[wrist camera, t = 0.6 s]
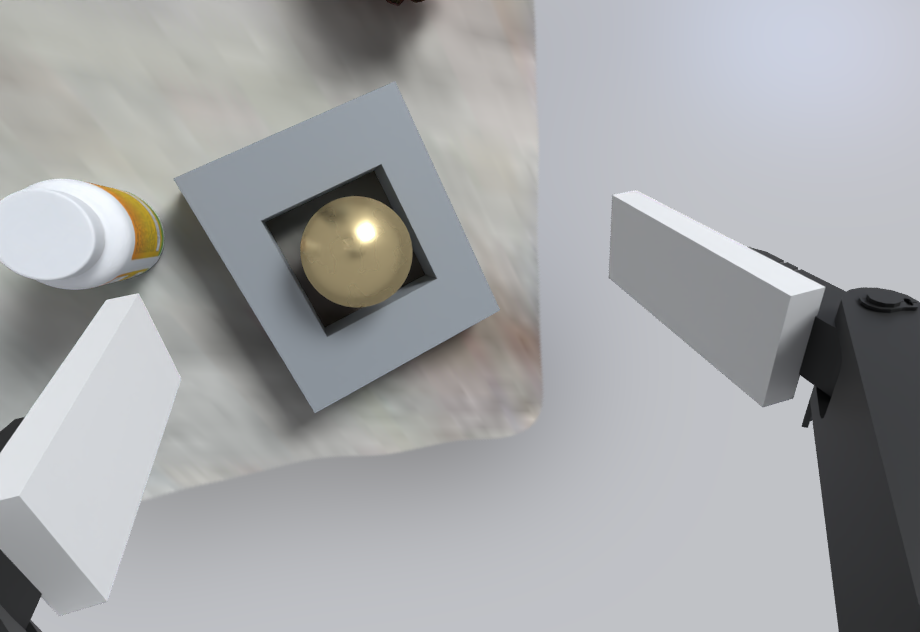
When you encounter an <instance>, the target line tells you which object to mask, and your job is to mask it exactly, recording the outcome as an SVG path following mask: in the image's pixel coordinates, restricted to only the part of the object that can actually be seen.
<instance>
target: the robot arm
mask: <svg viewBox="0 0 920 632" xmlns="http://www.w3.org/2000/svg"><path fill="white" fill-rule="evenodd" d="M610 237H611V238H610V261H609V279H611V280H612V281H613V282H614V283H615V284H617V285H618V286H619V287H620V288H621V289H623V290H624V291H625V292H626V293H627V294H629V295H630V296H631V297H632V298H633V299H635V300H636V301H637V302H638V303H639V304H640V305H642V306H643V307H644V308H645V309H646V310H648V311H649V312H650V313H651V314H652V315H653V316H655V317H656V318H657V319H658V320H659V321H661V322H662V323H663V324H664V325H665V326H667V327H668V328H669V329H670V330H671V331H672V332H674V333H675V334H676V335H677V336H678V337H680V338H681V339H682V340H683V341H684V342H686V343H687V344H688V345H689V346H690V347H692V348H693V349H694V350H695V351H696V352H697V353H699V354H700V355H701V356H702V357H703V358H705V359H706V360H707V361H708V362H709V363H711V364H712V365H713V366H714V367H715V368H716V369H718V370H719V371H720V372H721V373H722V374H724V375H725V376H726V377H727V378H728V379H730V380H731V381H732V382H733V383H734V384H736V385H737V386H738V387H739V388H740V389H741V390H743V391H744V392H745V393H746V394H747V395H749V396H750V397H751V398H752V399H754V400H755V401H756V402H757V403H758V404H759V405H760V406H762V407H765V406H769V405H772V404H776V403H779V402H782V401H786V400H789V399H793V397H794V394H795V390H796V387H797V384H798V380H799V377H800V375H801V376H802V377H804V378H805V379H806V380H808V381H809V382H811V383H812V384H813V385H814V388H813V391H812V394H811V397H810V400H809V404H808V407H807V410H806V414H805V416H804V420H803V423H802V427H808V425H809V422H810V421H812V420H813V428H814V436H815V444H816V451H817V459H818V468H819V476H820V484H821V491H822V499H823V508H824V516H825V524H826V531H827V540H828V548H829V556H830V564H831V572H832V580H833V588H834V596H835V604H836V612H837V620H838V628H839V632H920V302H919V301H917V300H915V299H913V298H911V297H909V296H908V295H905V294H902V293H898V292H895V291H892V290H886V289H880V288H857V289H851V290H849V291H847V292H845V291H844V290H842V289H840V288H838V287H836V286H834V285H831V284H830V283H828V282H826V281H824V280H821V279H820V278H818V277H815V276H814V275H812V274H810V273H808V272H806V271H804V270H798V267H796V266H794V265H792V264H789V263H788V262H787V263H784V261H783V260H782V259H779V258H778V257H776V256H774V255H772V254H770V253H768V252H765V251H761V250H758V249H754V248H750V247H746V246H744V245H742V244H740V243H738V242H736V241H734V240H732V239H730V238H729V237H727V236H724V235H723V234H720V233H719V232H717V231H715V230H713V229H711V228H709V227H707V226H705V225H703V224H701V223H699V222H697V221H695V220H693V219H691V218H689V217H687V216H686V215H684V214H681V213H679V212H678V211H676V210H674V209H672V208H670V207H668V206H666V205H664V204H662V203H660V202H658V201H656V200H654V199H652V198H650V197H648V196H646V195H644V194H643V193H640V192H639V191H637V190H634V191H629V192H624V193H619V194H615V195H612V214H611V236H610ZM180 382H181V377H180V375H179V373H178V371H177V369H176V367H175V365H174V363H173V361H172V359H171V357H170V355H169V353H168V351H167V349H166V347H165V345H164V343H163V341H162V339H161V337H160V335H159V333H158V331H157V329H156V327H155V325H154V323H153V321H152V319H151V317H150V315H149V313H148V311H147V309H146V307H145V305H144V303H143V301H142V299H141V297H140V295H139V293H137V294H132V295H127V296H123V297H118V298H113V299H108V300H106V301H105V302H104V304H103V305H102V307H101V308H100V310H99V311H98V313H97V314H96V315H95V317H94V318H93V320H92V321H91V323H90V324H89V326H88V327H87V328H86V330H85V331H84V333H83V334H82V336H81V337H80V339H79V340H78V341H77V343H76V344H75V346H74V347H73V349H72V350H71V352H70V353H69V354H68V356H67V357H66V359H65V360H64V362H63V363H62V365H61V366H60V367H59V369H58V370H57V372H56V373H55V375H54V376H53V378H52V379H51V380H50V382H49V383H48V385H47V386H46V388H45V389H44V391H43V392H42V393H41V395H40V396H39V398H38V399H37V401H36V402H35V403H34V405H33V406H32V408H31V409H30V411H29V412H28V414H27V415H26V416H25V417H23V418H19V419H15V420H14V421H13V422H11V423H10V424H9V425H8V426H7V427H5V428H4V429H3V430H2V431H1V432H0V632H42V631H41V630H40V629H39V628H38V627H37V626H36V625H35V624H34V623H33V622H32V621H31V620H30V619H31V617H32V615H33V613H34V610H35V608H36V606H37V604H38V601H39V599H40V597H42V598H43V599H44V600H45V601H46V603H47V604H48V605H49V606H50V607H51V608H52V609H53V610H54V611H55V612H56V613H57V614H58V615H59V616H61V615H64V614H68V613H71V612H74V611H78V610H81V609H84V608H88V607H91V606H95V605H98V604H102V603H105V602H107V601H108V598H109V595H110V592H111V589H112V586H113V583H114V580H115V577H116V574H117V571H118V568H119V565H120V562H121V559H122V556H123V553H124V550H125V547H126V544H127V541H128V538H129V535H130V532H131V529H132V526H133V523H134V520H135V517H136V514H137V511H138V508H139V505H140V502H141V499H142V496H143V493H144V490H145V487H146V484H147V481H148V478H149V475H150V472H151V469H152V466H153V463H154V460H155V457H156V454H157V451H158V448H159V445H160V442H161V439H162V436H163V433H164V430H165V427H166V424H167V421H168V418H169V415H170V412H171V409H172V406H173V403H174V400H175V397H176V394H177V391H178V388H179V385H180Z"/></svg>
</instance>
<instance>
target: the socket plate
mask: <svg viewBox="0 0 920 632" xmlns="http://www.w3.org/2000/svg"><path fill="white" fill-rule="evenodd" d="M372 171H375V174H376V176H377V178H378V180H379V182H380V184H381V186H382V188H383V190H384V192H385V194H386V196H387V198H388V200H389V202H390V204H391V206H392V208H393V210H394V212H395V213H396V214H397V215H398V216H399V217H400V218H401V220H402V221H403V223H404V224H405V226H406V228H407V230H408V232H409V235H410V238H411V242H412V249H413V251H414V253H415V255H416V257H417V259H418V261H419V263H420V265H421V267H422V269H423V271H424V273H425V275H424V276H422V277H420V278H418V279H416V280H414V281H413V282H411V283H409V284H407V285H405V286H403V287H401V288H399V289H398V290H397V291H396V293H394V294H393V295H392V296H391V297H389V298H388V299H386V300H385V301H383V302H381V303H378V304H376V305H372V306H368V307H363V308H361V309H359V310H357V311H355V312H354V313H352V314H350V315H348V316H346V317H344V318H342V319H340V320H338V321H336V322H335V323H333V324H331V325H329V326H327V327H324V325H323V324H322V322H321V320H320V318H319V317H318V315H317V313H316V311H315V310H314V308H313V306H312V304H311V303H310V301H309V299H308V297H307V296H306V294H305V292H304V290H303V288H302V287H301V285H300V283H299V281H298V280H297V278H296V276H295V274H294V273H293V271H292V269H291V267H290V266H289V264H288V262H287V260H286V259H285V257H284V255H283V253H282V251H281V250H280V248H279V246H278V244H277V243H276V241H275V239H274V237H273V236H272V234H271V232H270V230H269V229H268V227H267V225H266V223H265V222H266V221H268V220H270V219H272V218H274V217H277V216H279V215H281V214H283V213H285V212H287V211H289V210H291V209H294V208H296V207H298V206H300V205H302V204H304V203H306V202H308V201H310V200H313V199H315V198H317V197H319V196H321V195H323V194H325V193H327V192H330V191H332V190H334V189H336V188H338V187H340V186H342V185H344V184H346V183H349V182H351V181H353V180H355V179H357V178H359V177H361V176H363V175H366V174H368V173H370V172H372ZM174 181H175V182H176V184H177V186H178V187H179V189H180V191H181V192H182V194H183V196H184V197H185V199H186V201H187V202H188V204H189V206H190V207H191V209H192V211H193V212H194V214H195V215H196V217H197V219H198V220H199V222H200V224H201V225H202V227H203V229H204V230H205V232H206V234H207V235H208V237H209V239H210V240H211V242H212V244H213V245H214V247H215V249H216V250H217V252H218V254H219V255H220V257H221V259H222V260H223V262H224V263H225V265H226V267H227V268H228V270H229V272H230V273H231V275H232V277H233V278H234V280H235V282H236V283H237V285H238V287H239V288H240V290H241V292H242V293H243V295H244V297H245V298H246V300H247V302H248V303H249V305H250V307H251V308H252V310H253V311H254V313H255V315H256V316H257V318H258V320H259V321H260V323H261V325H262V326H263V328H264V330H265V331H266V333H267V335H268V336H269V338H270V340H271V341H272V343H273V345H274V346H275V348H276V350H277V351H278V353H279V355H280V356H281V358H282V359H283V361H284V363H285V364H286V366H287V368H288V369H289V371H290V373H291V374H292V376H293V378H294V379H295V381H296V383H297V384H298V386H299V388H300V389H301V391H302V393H303V394H304V396H305V398H306V399H307V401H308V403H309V404H310V406H311V408H312V409H313V411H314V412H315V413H316V412H318V411H320V410H322V409H324V408H325V407H327V406H329V405H331V404H333V403H334V402H336V401H338V400H340V399H341V398H343V397H345V396H347V395H349V394H350V393H352V392H354V391H356V390H358V389H359V388H361V387H363V386H365V385H367V384H368V383H370V382H372V381H374V380H376V379H377V378H379V377H381V376H383V375H385V374H386V373H388V372H390V371H392V370H393V369H395V368H397V367H399V366H401V365H402V364H404V363H406V362H408V361H410V360H411V359H413V358H415V357H417V356H419V355H420V354H422V353H424V352H426V351H428V350H429V349H431V348H433V347H435V346H437V345H438V344H440V343H442V342H444V341H446V340H447V339H449V338H451V337H453V336H454V335H456V334H458V333H460V332H462V331H463V330H465V329H467V328H469V327H471V326H472V325H474V324H476V323H478V322H480V321H481V320H483V319H485V318H487V317H489V316H490V315H492V314H494V313H496V312H498V311H499V310H500V309H499V307H498V305H497V302H496V300H495V298H494V296H493V294H492V291H491V289H490V287H489V285H488V283H487V281H486V278H485V276H484V274H483V272H482V270H481V267H480V265H479V263H478V261H477V259H476V257H475V254H474V252H473V250H472V248H471V246H470V243H469V241H468V239H467V237H466V235H465V233H464V230H463V228H462V226H461V224H460V222H459V219H458V217H457V215H456V213H455V211H454V209H453V206H452V204H451V202H450V200H449V198H448V195H447V193H446V191H445V189H444V187H443V185H442V182H441V180H440V178H439V176H438V174H437V172H436V169H435V167H434V165H433V163H432V161H431V158H430V156H429V154H428V152H427V150H426V148H425V145H424V143H423V141H422V139H421V137H420V134H419V132H418V130H417V128H416V126H415V124H414V121H413V119H412V117H411V115H410V113H409V110H408V108H407V106H406V104H405V102H404V100H403V97H402V95H401V93H400V91H399V89H398V86H397V84H396V82H395V81H394V82H392V83H390V84H387V85H385V86H383V87H381V88H378V89H376V90H374V91H372V92H369V93H367V94H365V95H362V96H360V97H358V98H356V99H353V100H351V101H349V102H347V103H344V104H342V105H340V106H337V107H335V108H333V109H331V110H328V111H326V112H324V113H322V114H319V115H317V116H315V117H312V118H310V119H308V120H306V121H303V122H301V123H299V124H296V125H294V126H292V127H290V128H287V129H285V130H283V131H281V132H278V133H276V134H274V135H271V136H269V137H267V138H265V139H262V140H260V141H258V142H256V143H253V144H251V145H249V146H246V147H244V148H242V149H240V150H237V151H235V152H233V153H231V154H228V155H226V156H224V157H221V158H219V159H217V160H215V161H212V162H210V163H208V164H206V165H203V166H201V167H199V168H196V169H194V170H192V171H190V172H187V173H185V174H183V175H181V176H178V177H176V178H174Z"/></svg>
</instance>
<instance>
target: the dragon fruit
mask: <svg viewBox="0 0 920 632" xmlns="http://www.w3.org/2000/svg"><path fill="white" fill-rule="evenodd" d="M386 1H387V2H389V3H391V4H393V5H397V6H399V5H400V4H401V3H402V2H403V1H404V0H386ZM411 1H413V2H415V3H417V2H422V1H424V0H411Z"/></svg>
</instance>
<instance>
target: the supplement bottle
mask: <svg viewBox="0 0 920 632" xmlns="http://www.w3.org/2000/svg"><path fill="white" fill-rule="evenodd" d="M164 241H165V235H164V229H163V225H162V222H161V220H160V218H159V216H158V215H157V213H156V212H155V211H154V209H153V208H152V207H151V206H150V205H149V204H148V203H146V202H145V201H144V200H142V199H141V198H139V197H137V196H135V195H133V194H131V193H128V192H126V191H122V190H118V189H114V188H109V187H105V186H100V185H96V184H92V183H88V182H84V181H79V180H73V179H51V180H45V181H41V182H38V183H35V184H32V185H30V186H28V187H27V188H25V189H23V190H21V191H18V192H15V193H12V194H10V195H8V196H6V197H5V198H3V199H2V200H1V201H0V261H1V262H2V263H3V264H4V265H5V266H6V267H8V268H9V269H10V270H12V271H14V272H15V273H17V274H19V275H22V276H24V277H27V278H31V279H35V280H37V281H39V282H41V283H43V284H46V285H48V286H52V287H56V288H61V289H68V290H80V289H89V288H94V287H98V286H102V285H105V284H110V283H113V282H117V281H121V280H125V279H129V278H132V277H135V276H138V275H140V274H142V273H144V272H146V271H147V270H149V269H150V268H151V267H152V266H153V265H154V264H155V263H156V262H157V261H158V259H159V257H160V256H161V253H162V251H163V247H164Z"/></svg>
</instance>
